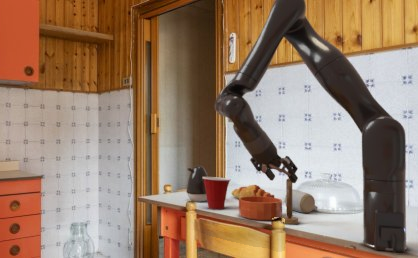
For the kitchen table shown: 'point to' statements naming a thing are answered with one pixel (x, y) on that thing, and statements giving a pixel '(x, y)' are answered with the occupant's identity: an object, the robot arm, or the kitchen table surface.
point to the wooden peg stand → (289, 205)
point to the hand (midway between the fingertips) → (283, 179)
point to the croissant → (250, 192)
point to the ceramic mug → (302, 202)
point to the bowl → (260, 207)
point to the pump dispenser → (196, 184)
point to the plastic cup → (216, 191)
